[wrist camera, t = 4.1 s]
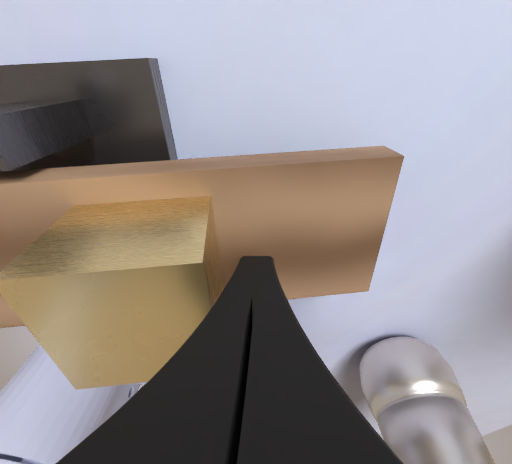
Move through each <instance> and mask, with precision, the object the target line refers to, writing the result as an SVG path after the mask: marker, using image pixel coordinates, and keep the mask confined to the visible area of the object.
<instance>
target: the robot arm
mask: <svg viewBox="0 0 512 464" xmlns="http://www.w3.org/2000/svg"><path fill="white" fill-rule="evenodd" d="M140 385H144V386H143V387H142V388H141V389H140V390H139V391H138V388H139V386H140ZM137 391H138V392H137ZM0 464H403V462H402V461H401V460H400V459H399V458H398V457H397V456H396V454H395V453H394V452H393V451H392V450H391V449H390V447H389V446H388V445H387V444H386V443H385V442H384V440H383V439H382V438H381V437H380V436H379V435H378V433H377V432H376V431H375V430H374V428H373V427H372V426H371V425H370V423H369V422H368V421H367V420H366V419H365V417H364V416H363V415H362V414H361V412H360V411H359V410H358V409H357V407H356V406H355V405H354V404H353V402H352V401H351V399H350V398H349V397H348V395H347V394H346V393H345V391H344V390H343V389H342V387H341V386H340V385H339V383H338V382H337V381H336V379H335V378H334V377H333V375H332V374H331V373H330V371H329V370H328V368H327V367H326V365H325V364H324V362H323V361H322V359H321V358H320V357H319V355H318V354H317V352H316V350H315V349H314V347H313V346H312V344H311V343H310V341H309V339H308V338H307V336H306V334H305V333H304V331H303V329H302V327H301V326H300V324H299V322H298V320H297V318H296V316H295V314H294V313H293V311H292V309H291V307H290V305H289V302H288V300H287V298H286V296H285V294H284V291H283V289H282V287H281V284H280V281H279V279H278V276H277V273H276V269H275V265H274V259H273V258H272V257H271V256H243V257H242V258H240V261H239V263H238V265H237V267H236V269H235V271H234V273H233V275H232V277H231V278H230V280H229V282H228V283H227V285H226V287H225V288H224V290H223V291H222V293H221V295H220V296H219V298H218V299H217V301H216V302H215V304H214V305H213V306H212V308H211V309H210V311H209V312H208V313H207V315H206V316H205V318H204V319H203V320H202V322H201V323H200V324H199V326H198V327H197V328H196V329H195V331H194V332H193V333H192V334H191V336H190V337H189V338H188V339H187V340H186V341H185V343H184V344H183V345H182V346H181V347H180V348H179V350H178V351H177V352H176V353H175V354H174V355H173V356H172V357H171V358H170V359H169V360H168V362H167V363H166V364H165V365H164V366H163V367H162V368H161V369H160V370H159V371H158V372H157V373H156V374H155V375H154V376H153V377H152V378H151V379H150V380H149V381H148V382H141V383H132V384H123V385H114V386H106V387H97V388H88V389H79V390H76V389H75V388H74V387H73V385H72V384H71V383H70V382H69V380H68V379H67V378H66V377H65V375H64V374H63V373H62V371H61V370H60V369H59V368H58V366H57V365H56V364H55V363H54V361H53V360H52V359H51V357H50V356H49V355H48V354H47V352H46V351H45V350H44V349H43V347H42V346H41V345H40V344H39V346H38V347H37V348H36V349H35V350H34V351H33V353H32V354H31V355H30V356H29V358H28V359H27V360H26V361H25V363H24V364H23V365H22V366H21V367H20V368H19V370H18V371H17V372H16V373H15V374H14V376H13V377H12V378H11V379H10V381H9V382H8V383H7V384H6V386H5V387H4V388H3V389H2V390H1V391H0Z"/></svg>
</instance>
